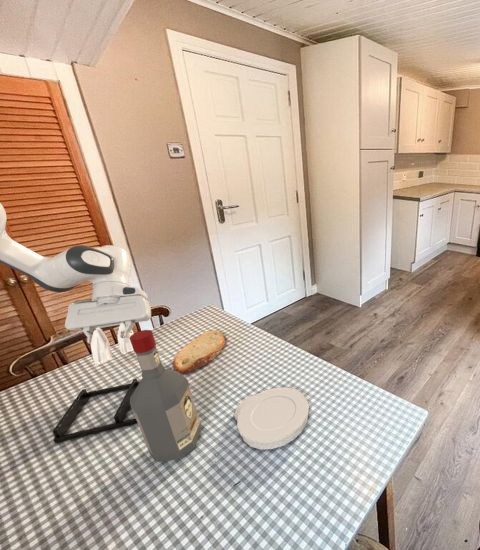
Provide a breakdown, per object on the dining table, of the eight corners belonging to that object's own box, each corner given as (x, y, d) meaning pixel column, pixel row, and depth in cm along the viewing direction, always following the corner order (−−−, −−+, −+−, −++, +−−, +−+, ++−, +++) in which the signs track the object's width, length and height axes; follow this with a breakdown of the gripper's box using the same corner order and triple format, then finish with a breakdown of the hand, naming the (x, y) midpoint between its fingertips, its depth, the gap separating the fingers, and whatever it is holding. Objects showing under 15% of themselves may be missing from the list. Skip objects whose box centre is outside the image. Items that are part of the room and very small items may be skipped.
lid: (265, 384, 88) (264, 376, 87) (322, 408, 80) (322, 399, 79) (215, 430, 74) (212, 421, 73) (278, 464, 66) (276, 454, 65)
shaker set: (99, 371, 85) (84, 337, 81) (90, 367, 86) (75, 334, 82) (142, 347, 95) (131, 316, 91) (133, 344, 97) (121, 314, 93)
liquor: (146, 465, 66) (100, 351, 55) (165, 430, 74) (128, 324, 63) (191, 458, 67) (154, 346, 56) (205, 425, 76) (175, 320, 64)
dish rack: (55, 443, 71) (49, 434, 70) (87, 395, 85) (83, 387, 84) (148, 421, 77) (144, 412, 76) (163, 379, 91) (161, 371, 90)
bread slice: (219, 332, 115) (217, 323, 113) (237, 353, 103) (235, 344, 101) (164, 351, 104) (161, 342, 102) (177, 378, 91) (174, 368, 90)
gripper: (62, 297, 87) (56, 345, 82) (145, 287, 93) (144, 331, 88) (75, 304, 92) (71, 349, 87) (153, 294, 98) (153, 336, 94)
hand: (108, 340), depth 88 cm, fingers closed on shaker set, 6 cm apart
